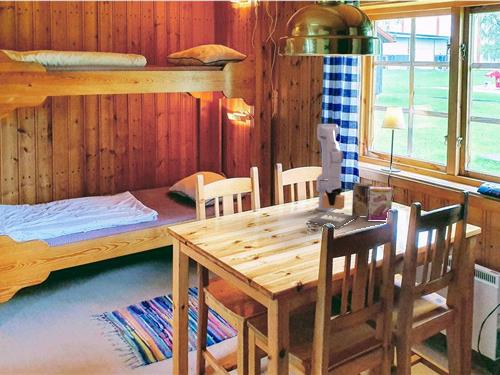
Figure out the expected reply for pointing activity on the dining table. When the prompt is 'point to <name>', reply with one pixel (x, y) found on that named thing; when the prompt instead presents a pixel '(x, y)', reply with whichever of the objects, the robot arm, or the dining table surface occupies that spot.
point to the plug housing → (338, 202)
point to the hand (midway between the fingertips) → (333, 203)
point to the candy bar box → (379, 202)
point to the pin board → (332, 218)
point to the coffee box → (360, 199)
